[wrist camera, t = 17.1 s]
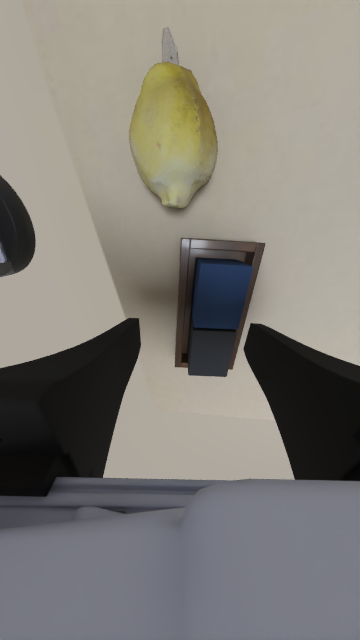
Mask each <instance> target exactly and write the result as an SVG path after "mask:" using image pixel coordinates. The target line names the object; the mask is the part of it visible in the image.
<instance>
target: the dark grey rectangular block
mask: <svg viewBox="0 0 360 640" xmlns="http://www.w3.org/2000/svg"><path fill="white" fill-rule="evenodd" d="M236 336H237V331H236V329H215V328H195V327H194V326H193V319H192V312H191V315H190V326H189V337H188V348H187V357H188V375H196V376H220V377H226V376H227V372H228V368H229V364H230V360H231V356H232V352H233V348H234V344H235V340H236Z"/></svg>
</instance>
